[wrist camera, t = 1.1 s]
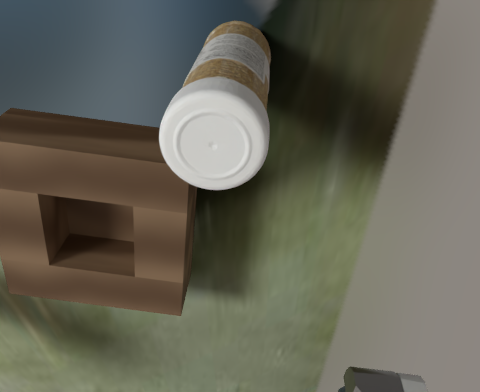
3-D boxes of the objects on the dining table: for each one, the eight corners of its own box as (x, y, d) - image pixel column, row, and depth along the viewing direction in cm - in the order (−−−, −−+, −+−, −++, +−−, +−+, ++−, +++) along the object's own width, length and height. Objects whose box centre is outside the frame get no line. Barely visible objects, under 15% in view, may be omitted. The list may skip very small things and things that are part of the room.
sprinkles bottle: (246, 100, 31) (229, 211, 20) (190, 63, 30) (137, 158, 18) (285, 45, 29) (292, 134, 17) (226, 2, 27) (191, 68, 16)
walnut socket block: (11, 107, 32) (-29, 137, 28) (200, 133, 32) (189, 166, 28) (37, 253, 40) (9, 293, 36) (190, 273, 40) (180, 316, 36)
